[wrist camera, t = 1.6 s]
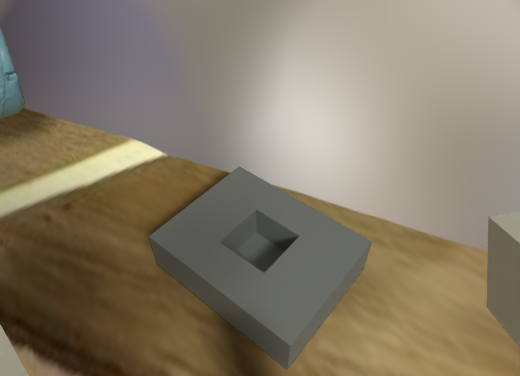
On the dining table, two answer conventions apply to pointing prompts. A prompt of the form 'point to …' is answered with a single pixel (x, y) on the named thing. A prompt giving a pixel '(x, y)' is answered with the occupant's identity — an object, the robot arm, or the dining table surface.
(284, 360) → the hole block
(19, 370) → the robot arm
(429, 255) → the dining table surface
